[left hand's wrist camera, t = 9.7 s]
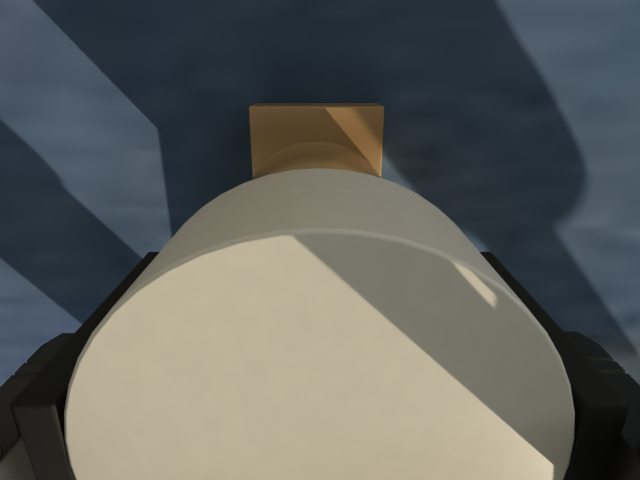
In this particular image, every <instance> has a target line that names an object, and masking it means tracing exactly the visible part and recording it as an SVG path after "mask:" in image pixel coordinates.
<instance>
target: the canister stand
mask: <svg viewBox="0 0 640 480" xmlns="http://www.w3.org/2000/svg"><path fill="white" fill-rule="evenodd" d="M249 121H250V138H251V156H252V173H253V178H252V180H254V179H257V178H260V177H263V176H266V175H270V174H275V173H280V172H285V171H290V170H299V169H315V168H324V169H340V170H349V171H354V172H359V173H364V174H369V175H373V176H376V177H379V178H381V162H382V143H383V124H384V106H382V105H380V104H379V103H255V104H253V105H251V106H250V107H249Z"/></svg>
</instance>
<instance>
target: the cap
mask: <svg viewBox="0 0 640 480" xmlns="http://www.w3.org/2000/svg"><path fill="white" fill-rule="evenodd" d="M64 427H65V443H66V448H67V453H68V458H69V463H70V467H71V469H72V472H73V475H74V477H75V480H563V479H564V477H565V474H566V471H567V469H568V466H569V463H570V458H571V453H572V448H573V443H574V427H575V411H574V405H573V398H572V392H571V386H570V382H569V379H568V376H567V373H566V370H565V368H564V365H563V362H562V359H561V357H560V355H559V353H558V351H557V350H556V348H555V346H554V344H553V342H552V341H551V339H550V337H549V335H548V333H547V332H546V331H545V329H544V328H543V327H542V326H541V324H540V323H539V322H538V321H537V319H536V318H535V317H534V316H533V314H532V313H531V312H530V311H529V309H528V308H527V307H526V306H525V305H524V303H523V302H522V301H521V300H520V299H519V298H518V296H517V295H516V294H515V293H514V292H513V291H512V289H511V288H510V287H509V286H508V285H507V284H506V283H505V281H504V280H503V279H502V278H501V277H500V276H499V274H498V273H497V272H496V271H495V270H494V269H493V267H492V266H491V265H490V264H489V263H488V262H487V260H486V259H485V258H484V257H483V256H482V255H481V253H480V252H479V251H478V250H477V249H476V248H475V246H474V245H473V244H472V243H471V242H470V241H469V239H468V238H467V237H466V236H465V235H464V234H463V232H462V231H461V230H460V229H459V228H458V227H457V225H456V224H455V223H454V222H453V221H451V220H450V219H449V218H448V217H447V216H446V215H445V214H444V213H443V212H442V211H441V210H440V209H438V208H437V207H436V206H434V205H433V204H431V203H430V202H428V201H427V200H426V199H424V198H423V197H421V196H420V195H418V194H416V193H414V192H412V191H410V190H408V189H406V188H404V187H402V186H400V185H398V184H396V183H394V182H391V181H388V180H385V179H382V178H379V177H376V176H373V175H369V174H364V173H359V172H354V171H349V170H340V169H324V168H315V169H299V170H290V171H285V172H280V173H275V174H270V175H266V176H263V177H260V178H257V179H254V180H251V181H248V182H245V183H243V184H241V185H239V186H237V187H235V188H233V189H231V190H229V191H227V192H225V193H223V194H221V195H219V196H218V197H217V198H215V199H214V200H212V201H211V202H209V203H208V204H206V205H205V206H203V207H202V208H201V209H200V210H198V211H197V212H196V213H195V214H194V215H193V216H192V217H191V218H190V219H189V220H188V221H187V222H185V223H184V224H183V226H182V227H181V228H180V229H179V230H178V231H177V233H176V234H175V235H174V236H173V237H172V238H171V240H170V241H169V242H168V243H167V244H166V245H165V247H164V248H163V249H162V250H161V251H160V252H159V254H158V255H157V256H156V257H155V258H154V259H153V261H152V262H151V263H150V264H149V265H148V266H147V268H146V269H145V270H144V271H143V272H142V273H141V275H140V276H139V277H138V278H137V279H136V280H135V282H134V283H133V284H132V285H131V286H130V288H129V289H128V290H127V291H126V292H125V293H124V295H123V296H122V297H121V298H120V299H119V300H118V302H117V303H116V304H115V305H114V306H113V307H112V309H111V310H110V311H109V312H108V314H107V315H106V316H105V317H104V319H103V320H102V321H101V322H100V323H99V325H98V326H97V327H96V328H95V330H94V331H93V332H92V334H91V336H90V338H89V339H88V341H87V343H86V345H85V346H84V348H83V350H82V352H81V354H80V355H79V357H78V359H77V362H76V365H75V368H74V371H73V374H72V377H71V380H70V382H69V386H68V393H67V399H66V405H65V412H64Z"/></svg>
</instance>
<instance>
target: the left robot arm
mask: <svg viewBox="0 0 640 480" xmlns="http://www.w3.org/2000/svg"><path fill="white" fill-rule="evenodd" d="M480 253H481V255H482V256H483V257H484V258H485V259H486V260H487V262H488V263H489V264H490V265H491V266H492V267H493V269H494V270H495V271H496V272H497V273H498V274H499V276H500V277H501V278H502V279H503V280H504V281H505V283H506V284H507V285H508V286H509V287H510V288H511V289H512V291H513V292H514V293H515V294H516V295H517V296H518V298H519V299H520V300H521V301H522V302H523V303H524V305H525V306H526V307H527V308H528V309H529V311H530V312H531V313H532V314H533V316H534V317H535V318H536V319H537V321H538V322H539V323H540V324H541V326H542V327H543V328H544V329H545V331H546V332H547V333H548V335H549V337H550V339H551V341H552V342H553V344H554V346H555V348H556V350H557V351H558V353H559V355H560V357H561V359H562V362H563V365H564V368H565V370H566V373H567V376H568V379H569V382H570V386H571V392H572V398H573V405H574V411H575V427H574V443H573V448H572V453H571V458H570V463H569V466H568V469H567V471H566V474H565V477H564V479H563V480H640V385H639V384H638V383H637V382H636V381H635V380H634V379H633V378H632V377H631V376H630V375H629V374H625V370H624V369H623V368H622V367H621V366H620V365H619V364H618V363H617V362H616V361H613V358H612V357H611V356H610V355H609V354H608V353H607V352H606V351H605V350H604V349H603V348H602V347H601V346H600V345H599V344H597V343H596V342H594V341H592V340H591V339H589V338H587V337H585V336H584V335H582V334H580V333H579V332H563V331H562V329H561V328H560V327H559V326H558V325H557V324H556V323H555V322H554V321H553V320H552V319H551V317H550V316H549V315H548V314H547V313H546V312H545V311H544V310H543V309H542V308H541V307H540V305H539V304H538V303H537V302H536V301H535V300H534V299H533V298H532V297H531V296H530V295H529V293H528V292H527V291H526V290H525V289H524V288H523V287H522V286H521V285H520V284H519V283H518V281H517V280H516V279H515V278H514V277H513V276H512V275H511V274H510V273H509V272H508V271H507V269H506V268H505V267H504V266H503V265H502V264H501V263H500V262H499V261H498V260H497V259H496V257H495V256H494V255H493V254H492V253H491V252H480ZM158 254H159V252H149V253H148V254H147V255H146V256H145V257H144V258H143V259H142V260H141V261H140V263H139V264H138V265H137V266H136V267H135V268H134V269H133V270H132V271H131V272H130V273H129V275H128V276H127V277H126V278H125V279H124V280H123V281H122V282H121V283H120V284H119V285H118V287H117V288H116V289H115V290H114V291H113V292H112V293H111V294H110V295H109V296H108V297H107V299H106V300H105V301H104V302H103V303H102V304H101V305H100V306H99V307H98V308H97V309H96V311H95V312H94V313H93V314H92V315H91V316H90V317H89V318H88V319H87V320H86V321H85V323H84V324H83V325H82V326H81V327H80V328H79V329H78V330H77V331H76V332H75V333H62V334H60V335H59V336H57V337H55V338H54V339H52V340H50V341H49V342H47V343H45V344H44V345H42V346H41V347H40V348H39V349H38V350H37V351H36V352H35V353H34V354H33V355H32V356H31V357H30V358H29V359H28V360H27V363H24V364H23V365H22V366H21V367H20V368H19V369H18V370H17V371H16V372H15V375H12V376H11V377H10V378H9V379H8V380H7V381H6V382H5V383H4V384H3V385H2V386H1V387H0V480H75V477H74V475H73V472H72V469H71V467H70V463H69V458H68V453H67V448H66V443H65V427H64V412H65V405H66V399H67V393H68V386H69V382H70V380H71V377H72V374H73V371H74V368H75V365H76V362H77V359H78V357H79V355H80V354H81V352H82V350H83V348H84V346H85V345H86V343H87V341H88V339H89V338H90V336H91V334H92V332H93V331H94V330H95V328H96V327H97V326H98V325H99V323H100V322H101V321H102V320H103V319H104V317H105V316H106V315H107V314H108V312H109V311H110V310H111V309H112V307H113V306H114V305H115V304H116V303H117V302H118V300H119V299H120V298H121V297H122V296H123V295H124V293H125V292H126V291H127V290H128V289H129V288H130V286H131V285H132V284H133V283H134V282H135V280H136V279H137V278H138V277H139V276H140V275H141V273H142V272H143V271H144V270H145V269H146V268H147V266H148V265H149V264H150V263H151V262H152V261H153V259H154V258H155V257H156V256H157V255H158Z"/></svg>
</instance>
